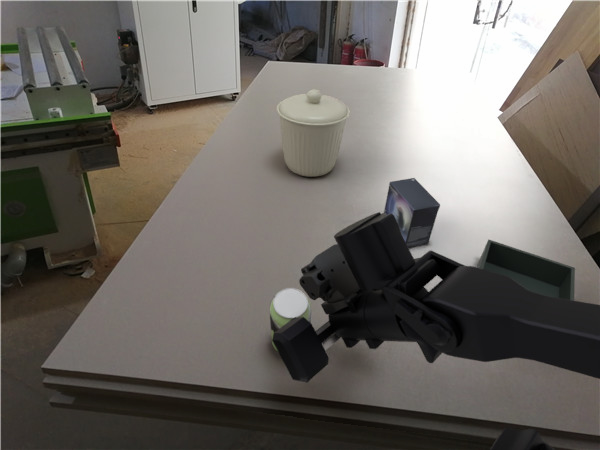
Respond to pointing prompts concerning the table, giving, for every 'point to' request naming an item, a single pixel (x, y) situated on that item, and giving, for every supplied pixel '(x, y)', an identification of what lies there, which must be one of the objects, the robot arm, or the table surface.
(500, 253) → the open square box
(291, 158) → the canister
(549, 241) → the table surface
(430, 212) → the small box
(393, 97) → the table surface
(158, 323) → the table surface
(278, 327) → the beverage can
